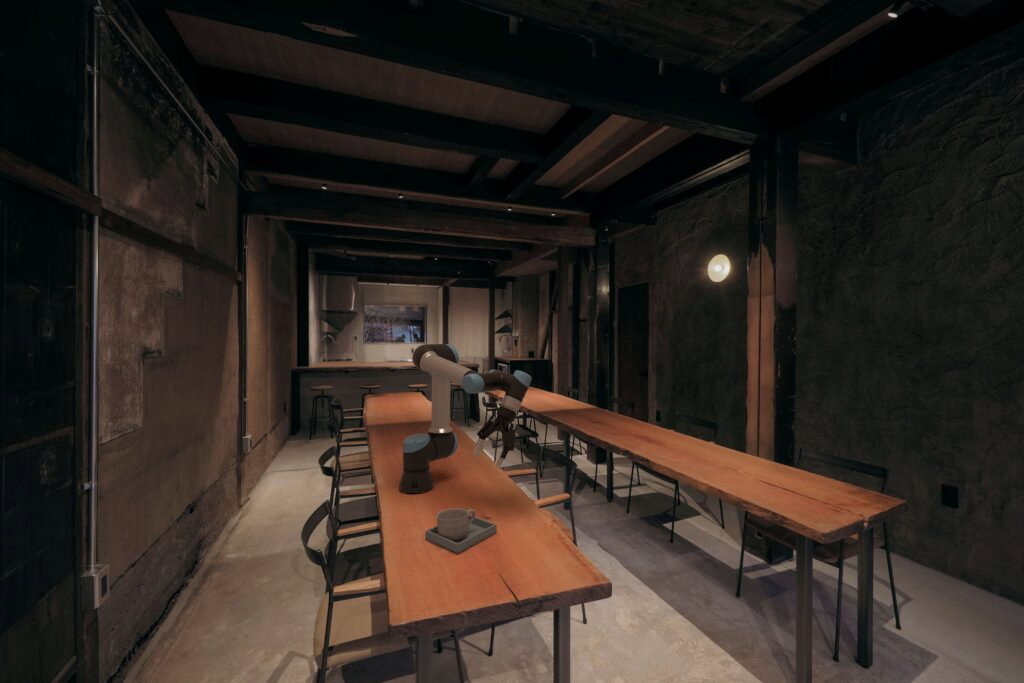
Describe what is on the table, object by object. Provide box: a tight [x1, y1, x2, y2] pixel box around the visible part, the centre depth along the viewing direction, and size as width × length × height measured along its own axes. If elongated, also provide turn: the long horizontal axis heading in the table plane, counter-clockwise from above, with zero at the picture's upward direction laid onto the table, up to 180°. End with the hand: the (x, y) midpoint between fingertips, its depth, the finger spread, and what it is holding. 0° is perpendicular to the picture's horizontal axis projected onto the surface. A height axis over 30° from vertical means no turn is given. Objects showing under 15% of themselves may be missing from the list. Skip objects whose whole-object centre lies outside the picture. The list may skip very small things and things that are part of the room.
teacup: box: [436, 507, 477, 541], centre depth 141 cm, size 14×11×8 cm
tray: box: [424, 514, 497, 555], centre depth 142 cm, size 15×18×3 cm
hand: (486, 460), depth 159 cm, fingers open, 13 cm apart
